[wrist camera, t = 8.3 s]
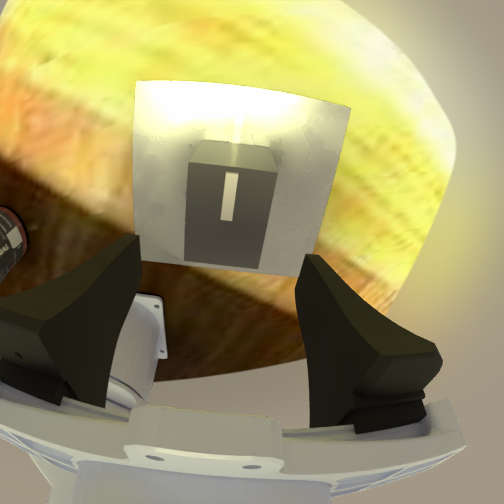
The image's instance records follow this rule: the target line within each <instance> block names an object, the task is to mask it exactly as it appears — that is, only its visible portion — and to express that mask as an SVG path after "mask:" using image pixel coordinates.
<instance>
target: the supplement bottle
mask: <svg viewBox="0 0 504 504" xmlns="http://www.w3.org/2000/svg"><path fill="white" fill-rule="evenodd" d="M26 248H27V238H26V234H25V231H24V228H23V226H22V224H21V222H20V220H19V219H18V218H17V216H16V215H15V214H14V213H13V212H12V211H10V210H9V209H7V208H4V207H0V283H1V281H2V280H3V279H4V278H5V276H6V275H7V274H8V273H9V272H10V270H11V269H12V268H13V267H14V266H15V265H16V263H17V262H18V261H19V260H20V259H21V257H22V256H23V255H24V253H25V251H26Z"/></svg>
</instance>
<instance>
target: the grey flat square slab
mask: <svg viewBox="0 0 504 504" xmlns="http://www.w3.org/2000/svg"><path fill="white" fill-rule="evenodd" d="M350 110H351V108H349V107H346V106H342V105H338V104H334V103H330V102H326V101H322V100H318V99H313V98H309V97H304V96H299V95H294V94H289V93H284V92H278V91H272V90H266V89H259V88H252V87H245V86H237V85H228V84H217V83H205V82H188V81H136V92H135V105H134V124H133V207H134V226H135V235H140V250H141V260H146V261H154V262H162V263H171V264H179V265H188V266H196V267H205V268H214V269H223V270H232V271H241V272H251V273H260V274H270V275H280V276H290V277H299V274H300V270H301V267H302V264H303V260H304V257H305V254H312V253H313V249H314V246H315V243H316V240H317V236H318V233H319V229H320V226H321V223H322V219H323V216H324V212H325V209H326V205H327V202H328V198H329V194H330V191H331V187H332V183H333V180H334V176H335V172H336V168H337V164H338V160H339V156H340V152H341V148H342V144H343V140H344V136H345V132H346V128H347V123H348V119H349V115H350ZM202 140H212V141H222V142H230V143H238V144H246V145H253V146H260V147H267V148H270V149H271V152H272V155H273V158H274V162H275V165H276V168H277V171H278V175H277V180H276V185H275V190H274V195H273V200H272V205H271V210H270V215H269V220H268V224H267V229H266V234H265V239H264V244H263V249H262V253H261V258H260V263H259V268H258V269H250V268H241V267H232V266H223V265H214V264H206V263H197V262H189V261H184V236H185V210H186V191H187V175H188V162H189V160H190V159H191V157H192V155H193V154H194V152H195V151H196V149H197V147H198V146H199V144H200V143H201V141H202Z"/></svg>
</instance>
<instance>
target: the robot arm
mask: <svg viewBox="0 0 504 504" xmlns="http://www.w3.org/2000/svg"><path fill="white" fill-rule="evenodd" d="M141 276H142V262H141V250H140V235H135V234H125V235H124V236H122V237H120V238H119V239H118V240H116V241H115V242H113V243H112V244H110V245H109V246H108V247H106V248H105V249H103V250H102V251H101V252H99V253H98V254H96V255H95V256H93V257H92V258H90V259H89V260H87V261H86V262H84V263H83V264H81V265H80V266H78V267H76V268H75V269H73V270H71V271H69V272H67V273H66V274H64V275H62V276H60V277H58V278H56V279H53V280H51V281H49V282H47V283H45V284H42V285H40V286H37V287H35V288H32V289H29V290H26V291H23V292H20V293H17V294H13V295H9V296H5V297H1V298H0V356H1V358H2V359H1V361H0V437H1V438H3V439H5V440H6V441H8V442H9V443H12V444H13V445H15V446H17V447H18V448H21V449H22V450H24V451H26V452H28V453H29V455H30V457H31V458H32V460H33V461H34V463H35V464H36V466H37V467H38V468H39V470H40V471H41V472H42V474H43V475H44V476H45V478H46V479H47V480H48V482H49V483H50V486H49V491H48V495H47V500H46V504H332V502H331V498H332V497H337V496H342V495H346V494H351V493H355V492H359V491H363V490H367V489H370V488H374V487H377V486H381V485H384V484H387V483H391V482H394V481H397V480H400V479H403V478H406V477H409V476H412V475H414V474H417V473H420V472H423V471H425V470H428V469H430V468H432V467H434V466H436V465H437V464H439V463H441V462H443V461H444V460H446V459H448V458H450V457H451V456H453V455H454V454H456V453H458V452H459V451H461V450H462V449H464V448H465V447H466V445H467V444H466V441H465V438H464V435H463V432H462V429H461V427H460V424H459V421H458V419H457V416H456V413H455V411H454V408H453V406H452V403H451V401H450V399H449V398H446V399H442V400H438V401H434V402H430V403H428V404H426V405H425V406H424V405H423V402H422V399H424V398H425V393H424V391H423V389H424V388H425V387H426V385H428V383H429V382H430V381H431V380H432V379H433V378H434V377H435V376H436V375H437V373H438V372H439V371H440V368H441V366H442V363H443V360H442V358H441V355H440V354H439V351H438V349H437V347H436V345H435V343H433V342H431V341H428V340H426V339H424V338H422V337H420V336H417V335H415V334H413V333H411V332H410V331H408V330H406V329H404V328H402V327H401V326H399V325H397V324H396V323H394V322H393V321H391V320H390V319H388V318H387V317H385V316H384V315H382V314H381V313H380V312H378V311H377V310H376V309H374V308H373V307H372V306H371V305H369V304H368V303H367V302H366V301H364V300H363V299H362V298H361V297H360V296H359V295H358V294H357V293H356V292H355V291H354V290H352V289H351V288H350V287H349V286H348V285H347V284H346V283H345V282H344V281H343V280H342V279H341V277H340V276H339V275H338V274H337V273H336V272H335V271H334V270H333V269H332V268H331V267H330V266H329V265H328V264H327V263H326V262H325V260H324V259H323V258H322V257H320V256H319V255H315V254H305V257H304V260H303V264H302V267H301V270H300V274H299V277H298V280H297V283H296V287H295V301H296V310H297V315H298V319H299V324H300V328H301V332H302V337H303V341H304V346H305V351H306V357H307V367H308V378H309V401H310V427H309V428H303V429H282V427H281V423H279V422H278V421H276V420H273V419H272V418H269V417H267V416H259V415H252V414H235V413H220V412H209V411H199V410H190V409H182V408H175V407H167V406H159V405H150V403H149V402H148V401H149V399H150V395H151V389H152V385H153V380H154V375H155V371H156V366H157V362H158V358H161V359H166V358H167V356H168V353H167V344H166V335H165V324H164V313H163V301H162V299H161V298H160V297H158V296H152V295H145V294H138V293H137V290H138V287H139V284H140V280H141ZM157 305H159V306H157Z"/></svg>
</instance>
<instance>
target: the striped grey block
mask: <svg viewBox="0 0 504 504" xmlns="http://www.w3.org/2000/svg"><path fill="white" fill-rule="evenodd" d="M277 175H278V171H277V168H276V165H275V162H274V158H273V155H272V152H271V149H270V148H267V147H260V146H253V145H246V144H238V143H230V142H222V141H212V140H202V141H201V143H200V144H199V146H198V147H197V149H196V151H195V152H194V154H193V155H192V157H191V159H190V160H189V162H188V175H187V191H186V210H185V236H184V261H189V262H197V263H206V264H214V265H223V266H232V267H241V268H250V269H258V268H259V263H260V258H261V253H262V249H263V244H264V239H265V234H266V229H267V224H268V220H269V215H270V210H271V205H272V200H273V195H274V190H275V185H276V180H277Z"/></svg>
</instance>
